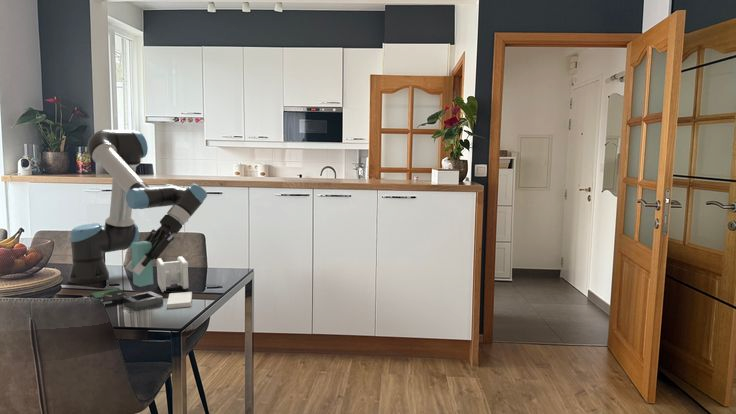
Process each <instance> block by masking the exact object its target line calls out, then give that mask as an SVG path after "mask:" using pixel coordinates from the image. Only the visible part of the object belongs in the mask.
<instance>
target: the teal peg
mask: <svg viewBox="0 0 736 414" xmlns="http://www.w3.org/2000/svg"><path fill="white" fill-rule="evenodd" d="M151 248H152V243H151V242H147V241H144V240H142V241H138V242H133V243H131V248H130V249H131V260H132V268H133V269H134V268H135V266H136V265H137V264H138V263H139V262H140V260H141V259H142V258H143V257H144V256H146V255H145V253H148V252H149V251H150V249H151ZM153 267H154V266H153V260H151V261H150V262H149V263H148V265H147V266H146V267H145V268H144V270H143V271H142V272H141V273H140V274H139V275H137V274H136V273H135V272H134V271H133V272H132V284H133V285H134V286H137V287H145V286H146V287H147V286H149V285H154V272H153V271H154V269H153Z"/></svg>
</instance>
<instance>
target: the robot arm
mask: <svg viewBox="0 0 736 414" xmlns="http://www.w3.org/2000/svg"><path fill="white" fill-rule="evenodd" d="M148 148H149V147H148V141H147V139H146V138H145V136H144V134H143V133H142V132H140V131H138V130H131V129H126V130H125V129H101V130H98V131H96V132H94V133H93V134H92V135H91V136H90V138H89V139H88V142H87V148H86V149H87V153H88V155H89V157H90V158H91V159H92V161H93V162H94V163H95V164H98V165H100V166H101V167H103V169H104V170H105V171H106V173H108V175H109V176H110V177H111V178H112V184H111V196H110V206H109V207H110V208H109V209H110V210H109V216H108V217H107V218H106V219H105V222H104V225H102V224H101V223H98V222H94V223H86V224H81V225H79V226H76V227H74V228H73V229H72V230H71V231H70V244H71V247H70V248H71V257H72V263H71V264H72V265H71V268H70V271H69V275H68V282H69V281H70V282H71V284H74V283H75V285H83V284H85V285H86V284H93V283H94V284H95V283H100V282H103V281H107V280H108V279H109V278H110V272H109V270H108V268H107V266H106V265H107V264H106V263H105V260H104V254H105V253H109V252H110V253H111V252H117V251H125V250H128V249H131V243H133V242H139V237H140V231H139V227H138V225H137V224H136V223H135V220H134V219H133V218H132V214H133V213H132V212H133V210H144V209H151V208H153V209H154V208H160V207H161V208H162V207H170V208H169V210H168V211H167V212H166V214H164V216H163V217H162V218H160V220H159V224H160V226H159V227H158V228H157V229H154V228H153V229H151V230H150V233H149V234H148V235H147V236H146V238H145V239H144V240H143V241H147V242H151V243H152V248H151V249H150V251H149V252H148V253H145V255H146V256H144V257H143V258H142V259H141V260H140V262H139V263H138V264H137V265H136V266H135V268H134V269H133V268H132V259H131V260H130V261H129V263H128V264H127V265H126V266H125V269H126V270H127V271H129V272H130V273H133V271H134V272H135V273H136V274H137V275H139V274H140V273H141V272H142V271H143V270H144V268H145V267H146V266H147V265H148V263H149V262H150V261H151V260H152V261H154V260H157V259H159V257H160V255H161V254H162V253H163V252H164V250H165V249H166V248H167V247H168V245H169V244H170V243H171V242H173V240H174V239H175V237H174V236H173V234H174V235H176V234H178V233H179V232H180V231H181V229H182V228H183V226H184V225H186V223H188V222H189V219H190V218H191V217H192V216H193V215H194V214H195V212H196V211H197V210H198V209H199V208H200V207H201V206H202V205H203V203H204V201H205V200H206V198H207V197H208V193H207V191H206V190H205V189H204V188H203V187H202V186H200V185H199V184H197V183H190V185H189V186H188V187H183V186H179V185H176V184H171V183H167V184H165V185H163V186H151V187H150V186H149V185H148V184H147V183H146V182H145V181H144V180H143V179H142V178H141V176H139V175H138V174H137V173H136V171H137V167H138V166H139V165H140V164H141V161H142V160H141V159H143V158H145V157H147V156H146V155H148ZM70 282H69V283H70Z"/></svg>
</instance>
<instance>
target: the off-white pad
mask: <svg viewBox="0 0 736 414" xmlns="http://www.w3.org/2000/svg"><path fill="white" fill-rule="evenodd" d="M192 300H193V292H192V291H185V292H171V293H169V294H168V298H167V302H166V309H175V308H176V309H177V308H186V307H187V308H188V307H192Z"/></svg>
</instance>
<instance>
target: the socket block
mask: <svg viewBox="0 0 736 414" xmlns="http://www.w3.org/2000/svg"><path fill="white" fill-rule="evenodd" d="M122 305H123V306H124V307H127V308H129V309H131V310H132V311H134V312H136V311H142V310H145V309H150V308H154V307H158V306H163V305H164V297H163V296H162V295H160V294H158V293H156V292H153V291H151V290H150V291H145V292H140V293H136V294H135V293H134V294H130V295H128V296H125V297H123V304H122Z"/></svg>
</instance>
